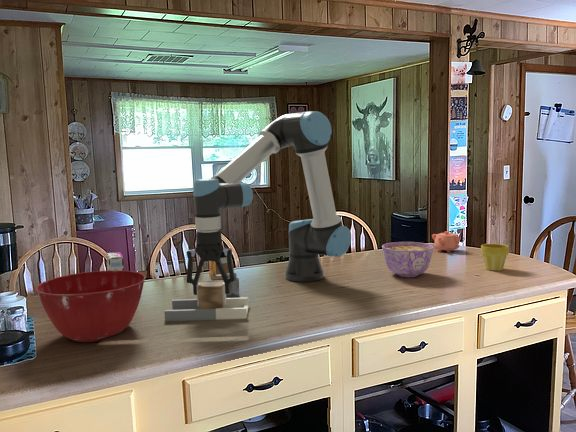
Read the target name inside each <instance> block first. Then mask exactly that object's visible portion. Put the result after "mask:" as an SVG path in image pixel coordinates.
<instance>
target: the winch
mask: <svg viewBox="0 0 576 432" xmlns="http://www.w3.org/2000/svg"><path fill="white" fill-rule="evenodd" d="M241 297H247V295H240V279H239V278H238V277H237V279H234V281H233V282H230V283H229V294H226V298H241Z"/></svg>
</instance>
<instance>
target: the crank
mask: <svg viewBox="0 0 576 432" xmlns="http://www.w3.org/2000/svg"><path fill="white" fill-rule="evenodd" d="M208 267H210V268H209V276H210V277H211V276H212V279H223V278H222V276H221V275H216V264H215V261H208ZM226 274H227V276H228V278H229V277H230V276H229V273H226ZM234 275H235V279H237V278H238V277H237V272H234Z"/></svg>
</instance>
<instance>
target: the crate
mask: <svg viewBox="0 0 576 432" xmlns="http://www.w3.org/2000/svg"><path fill="white" fill-rule="evenodd" d="M223 282H224V280H215V281H211V280H200V282H199V283H200V285H199V286H198V287H197V290H198V301H199V309H214V308H224V307H225V305H223V293H222V284H223Z"/></svg>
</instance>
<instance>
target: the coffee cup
mask: <svg viewBox="0 0 576 432" xmlns="http://www.w3.org/2000/svg"><path fill="white" fill-rule="evenodd" d="M226 248H227V249H229V248H230V247H226ZM219 257H220V259H221V262H222V264H223V267H224V269H225V271H226V273H229V270H228V264H227V256H225V253H224V252H222V253H221V255H220V256H219ZM215 264H216V263H215ZM208 267H209V266H208ZM209 269H210V267H209ZM216 275H221V274H220V271H219V269H218V267H217V264H216ZM210 279H211V280H210V281H215V280H223V279H212V276H210Z"/></svg>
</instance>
